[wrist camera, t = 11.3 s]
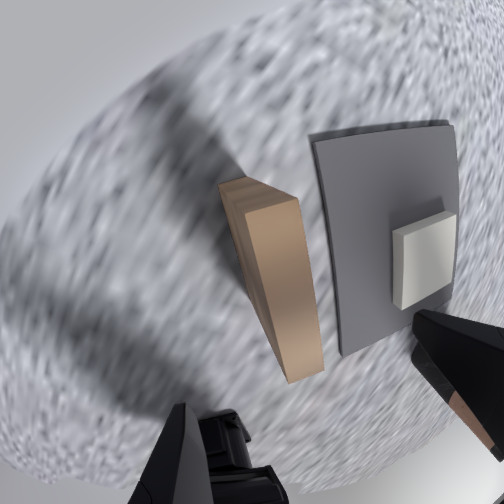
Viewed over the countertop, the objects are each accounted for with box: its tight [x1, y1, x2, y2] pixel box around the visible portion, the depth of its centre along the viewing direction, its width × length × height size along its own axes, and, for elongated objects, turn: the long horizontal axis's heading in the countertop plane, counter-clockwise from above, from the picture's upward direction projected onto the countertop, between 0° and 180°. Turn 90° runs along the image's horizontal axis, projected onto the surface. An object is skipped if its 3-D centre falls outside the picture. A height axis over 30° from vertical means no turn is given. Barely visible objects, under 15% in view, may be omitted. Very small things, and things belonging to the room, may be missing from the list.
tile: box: [392, 211, 456, 310], centre depth 23 cm, size 8×2×8 cm
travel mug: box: [412, 342, 504, 462], centre depth 21 cm, size 8×8×20 cm
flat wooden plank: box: [218, 176, 324, 384], centre depth 16 cm, size 9×2×9 cm, turn 13°
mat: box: [312, 125, 459, 358], centre depth 23 cm, size 20×16×1 cm
